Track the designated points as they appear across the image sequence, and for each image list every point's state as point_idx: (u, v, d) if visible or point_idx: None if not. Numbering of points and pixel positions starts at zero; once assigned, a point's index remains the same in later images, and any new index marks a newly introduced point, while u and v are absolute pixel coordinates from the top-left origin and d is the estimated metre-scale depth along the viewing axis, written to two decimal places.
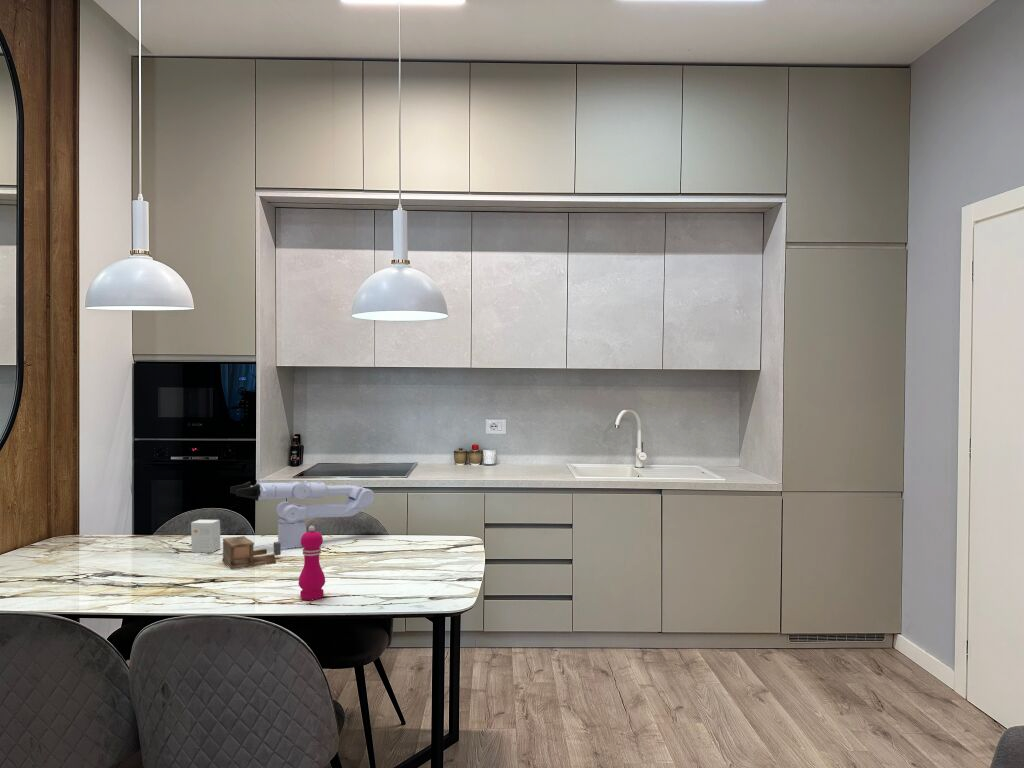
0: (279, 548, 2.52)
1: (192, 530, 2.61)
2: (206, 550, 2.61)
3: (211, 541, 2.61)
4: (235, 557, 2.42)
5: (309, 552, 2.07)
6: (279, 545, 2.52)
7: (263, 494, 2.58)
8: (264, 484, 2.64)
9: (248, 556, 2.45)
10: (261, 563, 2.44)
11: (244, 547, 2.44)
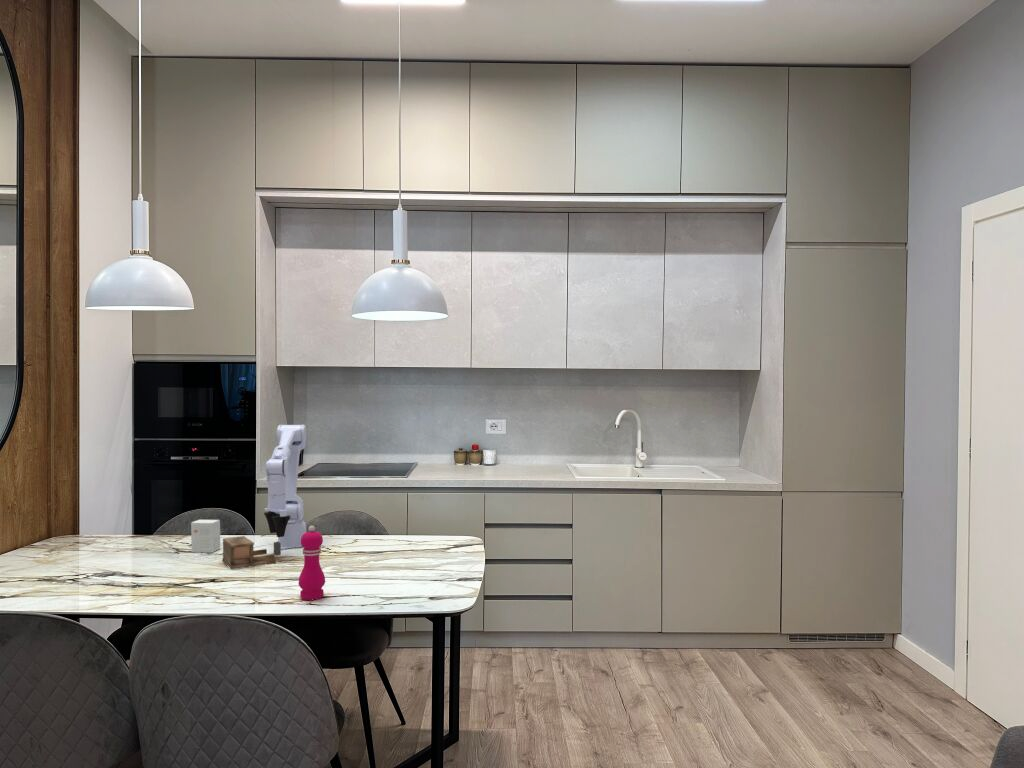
0: (279, 548, 2.52)
1: (192, 530, 2.61)
2: (206, 550, 2.61)
3: (211, 541, 2.61)
4: (235, 557, 2.42)
5: (309, 552, 2.07)
6: (279, 545, 2.52)
7: (284, 513, 2.47)
8: (270, 506, 2.50)
9: (248, 556, 2.45)
10: (261, 563, 2.44)
11: (244, 547, 2.44)
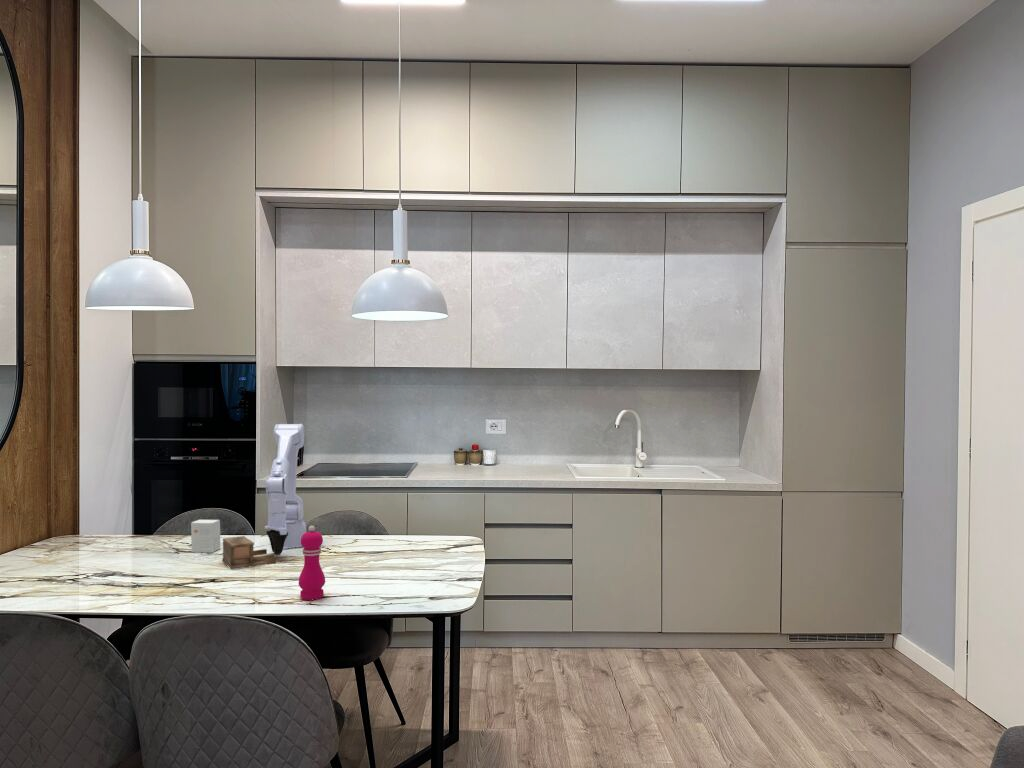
0: None
1: (192, 530, 2.61)
2: (206, 550, 2.61)
3: (211, 541, 2.61)
4: (235, 557, 2.42)
5: (309, 552, 2.07)
6: None
7: (284, 532, 2.47)
8: (271, 524, 2.50)
9: (248, 556, 2.45)
10: (261, 563, 2.44)
11: (244, 547, 2.44)
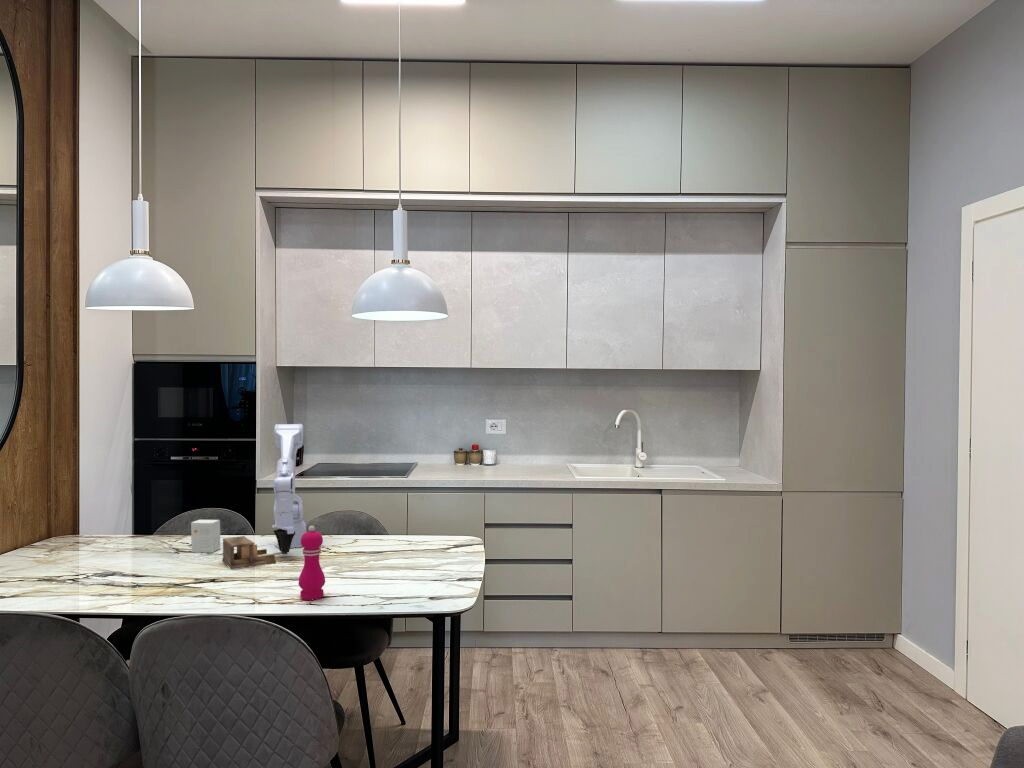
0: None
1: (192, 530, 2.61)
2: (206, 550, 2.61)
3: (211, 541, 2.61)
4: (243, 556, 2.44)
5: (309, 552, 2.07)
6: None
7: (292, 531, 2.48)
8: (278, 523, 2.52)
9: (255, 555, 2.46)
10: (261, 563, 2.44)
11: None
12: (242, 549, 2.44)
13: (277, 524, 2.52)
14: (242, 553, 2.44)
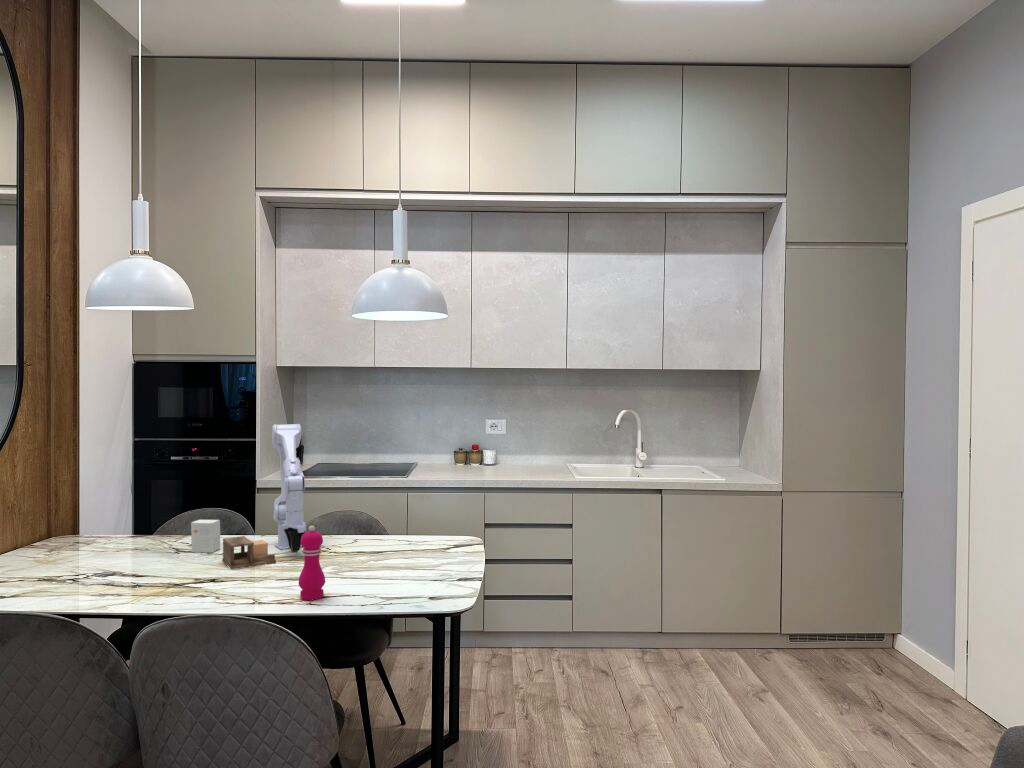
0: None
1: (192, 530, 2.61)
2: (206, 550, 2.61)
3: (211, 541, 2.61)
4: None
5: (309, 552, 2.07)
6: None
7: (302, 529, 2.50)
8: (288, 522, 2.54)
9: (266, 554, 2.48)
10: (261, 563, 2.44)
11: (262, 545, 2.47)
12: (253, 548, 2.46)
13: (287, 523, 2.54)
14: (253, 552, 2.46)
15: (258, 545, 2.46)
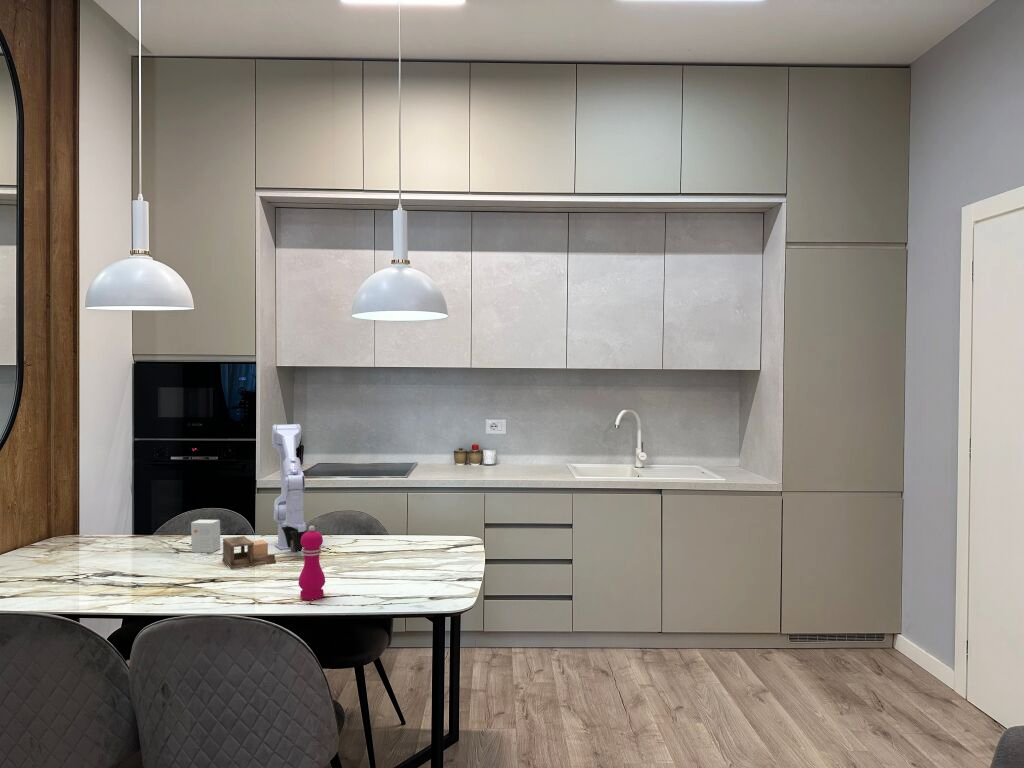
0: None
1: (192, 530, 2.61)
2: (206, 550, 2.61)
3: (211, 541, 2.61)
4: None
5: (309, 552, 2.07)
6: None
7: (302, 529, 2.50)
8: (288, 521, 2.54)
9: (266, 554, 2.48)
10: (261, 563, 2.44)
11: (262, 545, 2.47)
12: (253, 548, 2.46)
13: (288, 522, 2.54)
14: (253, 552, 2.46)
15: (258, 545, 2.47)
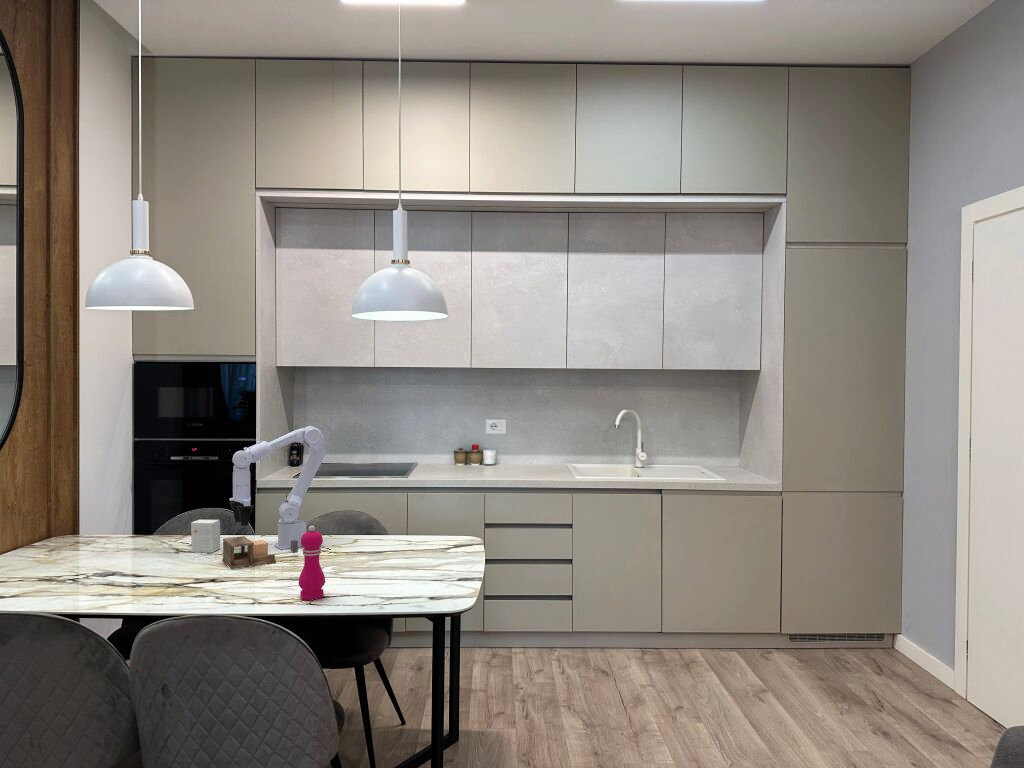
0: (296, 546, 2.55)
1: (192, 530, 2.61)
2: (206, 550, 2.61)
3: (211, 541, 2.61)
4: None
5: (309, 552, 2.07)
6: (296, 543, 2.55)
7: (248, 503, 2.58)
8: (235, 496, 2.61)
9: (266, 554, 2.48)
10: (261, 563, 2.44)
11: (262, 545, 2.47)
12: (253, 548, 2.46)
13: (234, 497, 2.62)
14: (253, 552, 2.46)
15: (258, 545, 2.47)
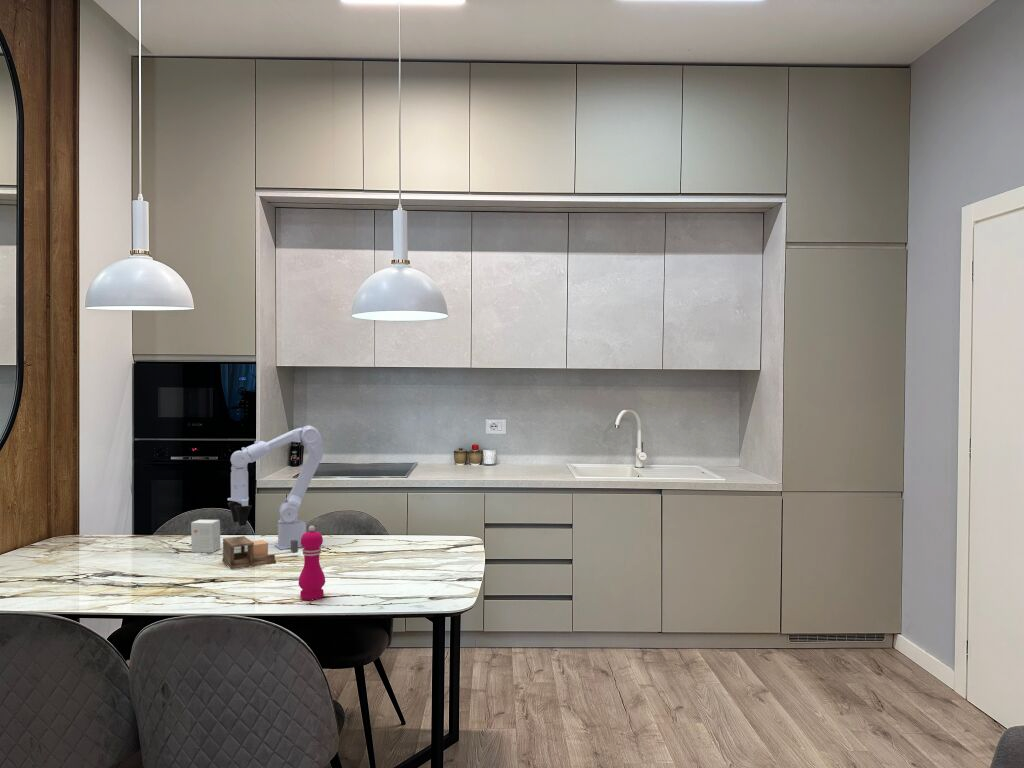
0: (296, 546, 2.55)
1: (192, 530, 2.61)
2: (206, 550, 2.61)
3: (211, 541, 2.61)
4: None
5: (309, 552, 2.07)
6: (296, 543, 2.55)
7: (246, 503, 2.58)
8: (233, 496, 2.62)
9: (266, 554, 2.48)
10: (261, 563, 2.44)
11: (262, 545, 2.47)
12: (253, 548, 2.46)
13: (232, 497, 2.62)
14: (253, 552, 2.46)
15: (258, 545, 2.47)
